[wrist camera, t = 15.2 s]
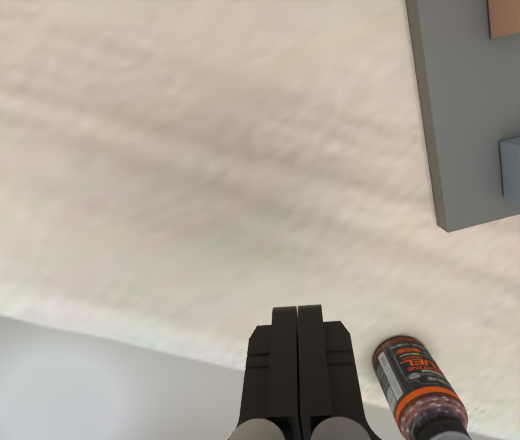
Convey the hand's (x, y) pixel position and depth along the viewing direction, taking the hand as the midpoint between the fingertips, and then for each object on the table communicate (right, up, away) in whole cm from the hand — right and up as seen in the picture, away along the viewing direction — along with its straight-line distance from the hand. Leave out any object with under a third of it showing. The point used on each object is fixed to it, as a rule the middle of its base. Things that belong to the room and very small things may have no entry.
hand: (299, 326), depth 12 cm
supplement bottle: (+14, -11, +29) cm, 34 cm away
